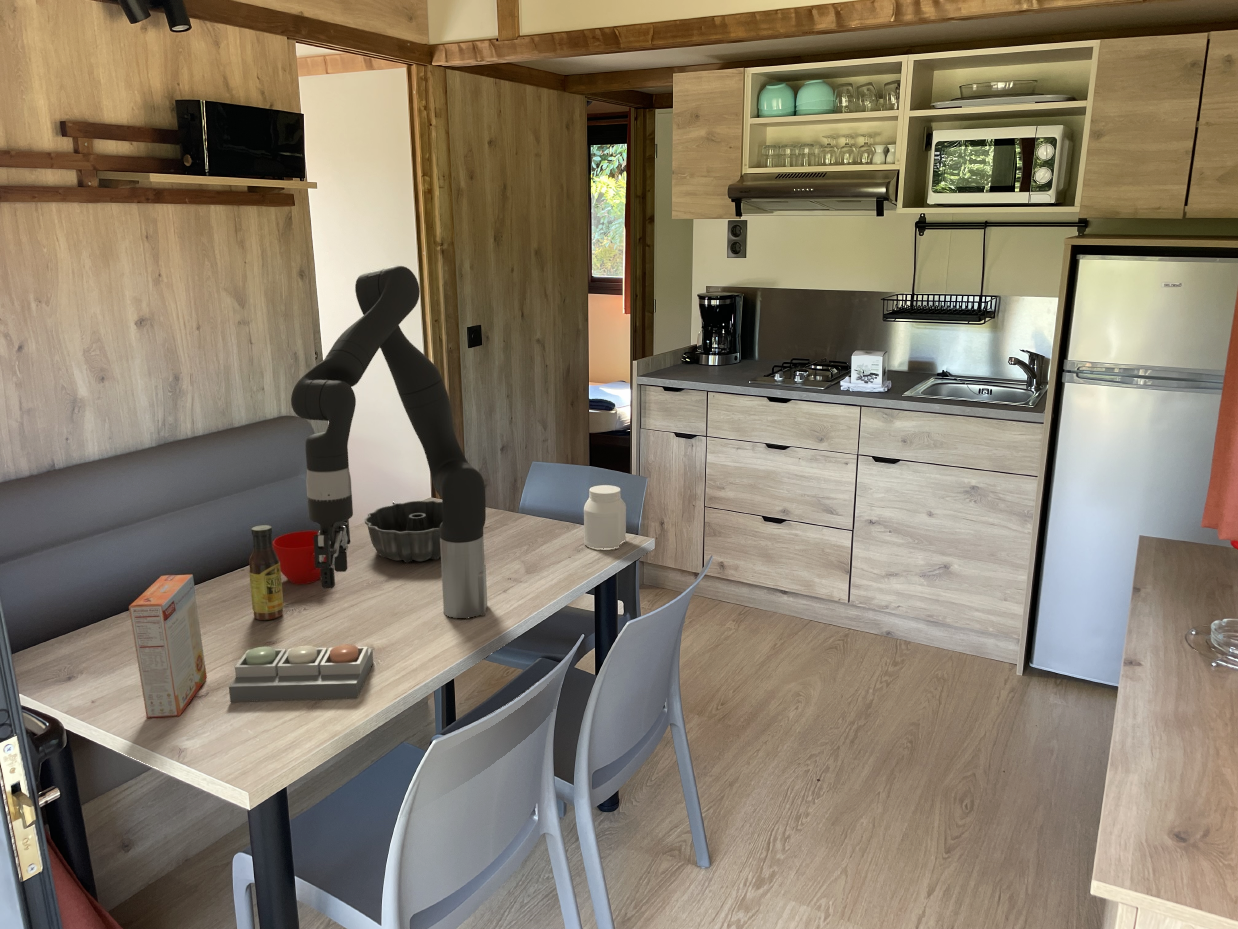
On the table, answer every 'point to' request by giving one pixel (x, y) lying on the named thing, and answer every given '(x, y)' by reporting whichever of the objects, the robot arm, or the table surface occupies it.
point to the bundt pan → (407, 530)
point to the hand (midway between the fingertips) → (334, 579)
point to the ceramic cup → (297, 556)
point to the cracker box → (168, 645)
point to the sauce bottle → (265, 576)
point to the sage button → (260, 656)
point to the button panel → (300, 678)
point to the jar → (604, 517)
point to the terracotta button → (344, 654)
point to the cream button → (302, 655)
